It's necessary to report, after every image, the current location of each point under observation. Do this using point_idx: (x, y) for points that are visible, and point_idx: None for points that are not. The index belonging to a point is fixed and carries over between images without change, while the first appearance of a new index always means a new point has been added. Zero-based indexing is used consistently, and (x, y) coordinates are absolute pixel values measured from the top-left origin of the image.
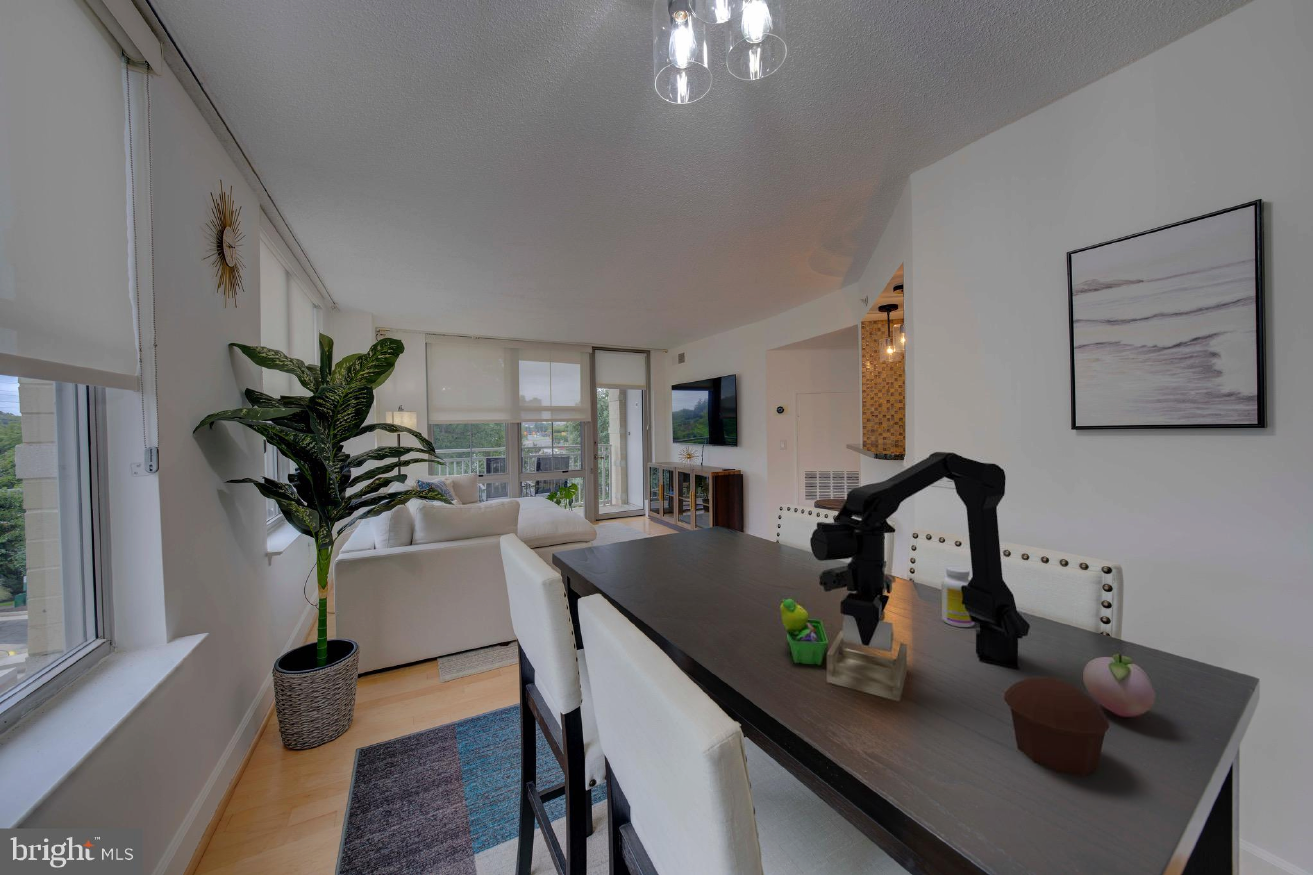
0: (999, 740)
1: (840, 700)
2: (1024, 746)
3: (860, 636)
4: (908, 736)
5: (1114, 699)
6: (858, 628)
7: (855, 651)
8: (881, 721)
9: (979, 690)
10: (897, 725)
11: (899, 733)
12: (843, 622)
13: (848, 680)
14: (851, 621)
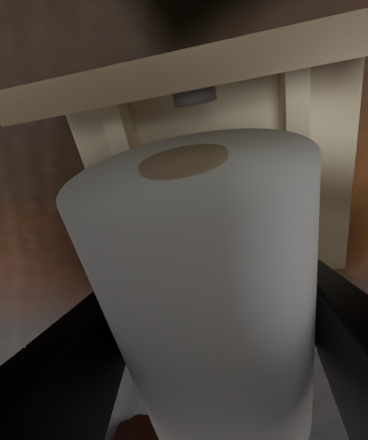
0: (140, 401)
1: (10, 165)
2: (124, 431)
3: (83, 302)
4: (23, 311)
5: None
6: (29, 348)
7: (298, 132)
8: (22, 267)
9: (316, 388)
10: (38, 292)
11: (17, 299)
12: (64, 213)
13: (89, 165)
14: (105, 288)
